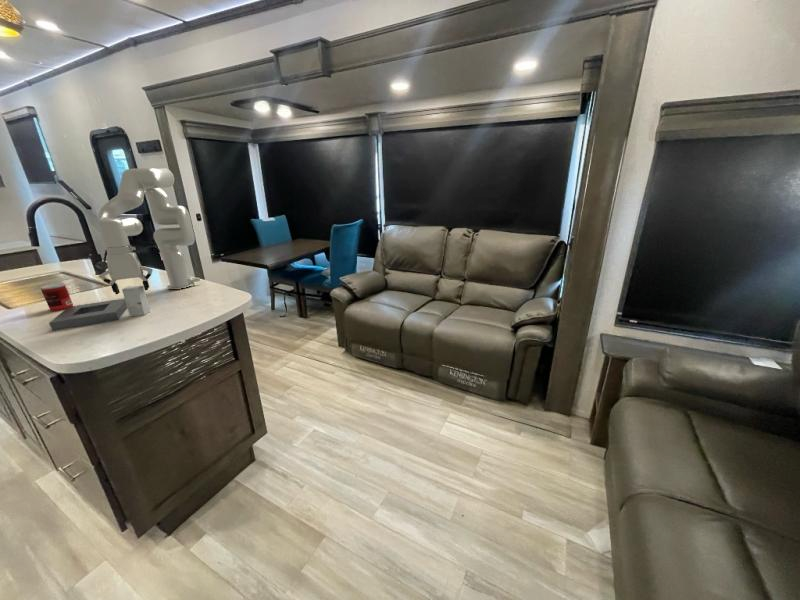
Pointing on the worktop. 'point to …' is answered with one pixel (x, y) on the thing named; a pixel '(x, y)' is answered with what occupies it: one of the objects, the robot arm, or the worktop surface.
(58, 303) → the canned food
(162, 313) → the worktop surface
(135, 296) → the skincare box
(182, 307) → the worktop surface
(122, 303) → the jig
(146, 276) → the robot arm
